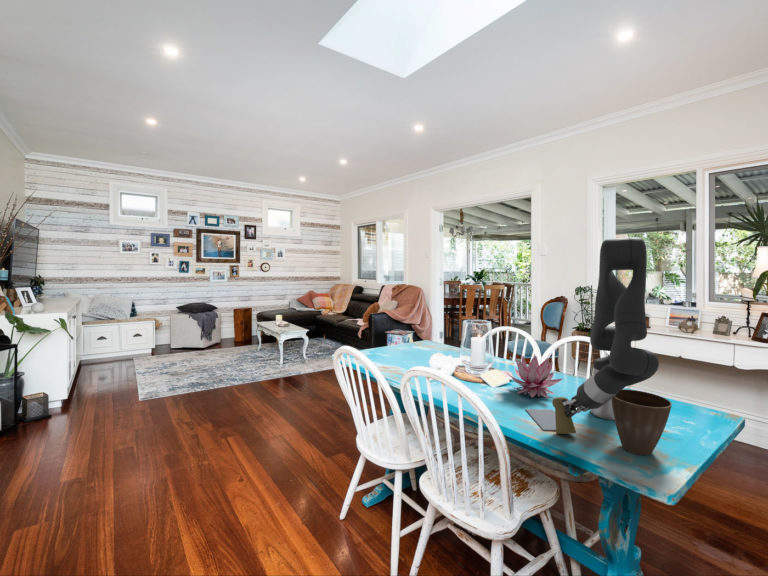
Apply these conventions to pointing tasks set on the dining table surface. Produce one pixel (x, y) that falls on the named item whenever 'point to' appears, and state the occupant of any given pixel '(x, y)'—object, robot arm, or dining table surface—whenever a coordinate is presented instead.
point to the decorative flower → (535, 377)
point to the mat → (544, 418)
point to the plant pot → (640, 419)
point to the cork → (562, 417)
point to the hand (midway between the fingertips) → (567, 414)
